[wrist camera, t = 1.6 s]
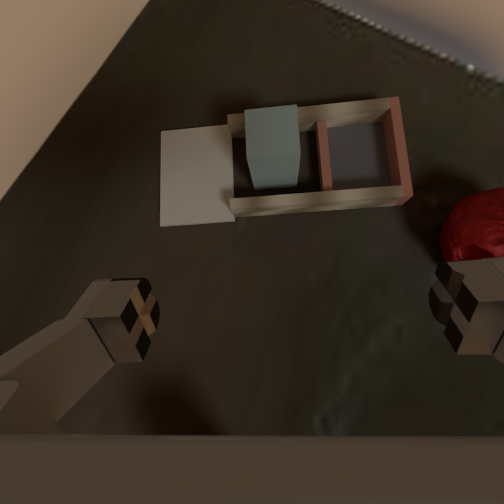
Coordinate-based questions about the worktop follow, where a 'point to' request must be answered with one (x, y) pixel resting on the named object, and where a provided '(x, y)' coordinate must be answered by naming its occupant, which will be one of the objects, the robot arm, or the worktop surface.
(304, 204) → the wooden divided tray
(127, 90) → the worktop surface
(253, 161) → the grey-green block
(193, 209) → the pad
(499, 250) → the pomegranate
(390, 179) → the box
